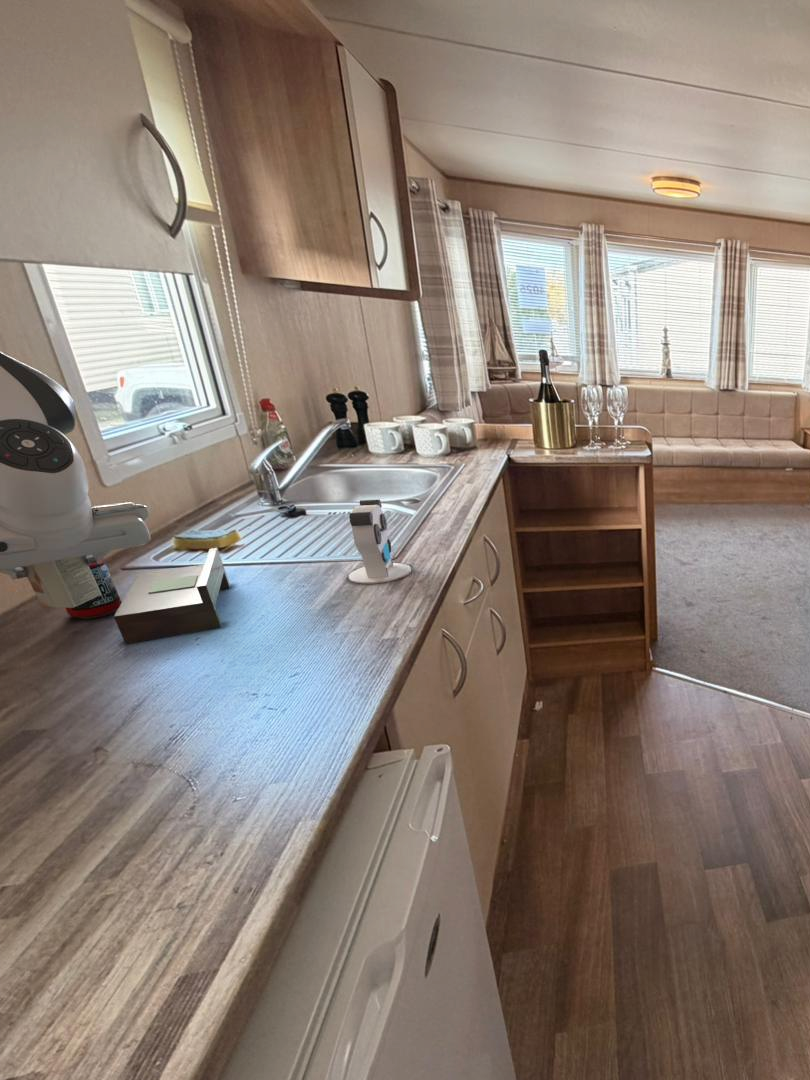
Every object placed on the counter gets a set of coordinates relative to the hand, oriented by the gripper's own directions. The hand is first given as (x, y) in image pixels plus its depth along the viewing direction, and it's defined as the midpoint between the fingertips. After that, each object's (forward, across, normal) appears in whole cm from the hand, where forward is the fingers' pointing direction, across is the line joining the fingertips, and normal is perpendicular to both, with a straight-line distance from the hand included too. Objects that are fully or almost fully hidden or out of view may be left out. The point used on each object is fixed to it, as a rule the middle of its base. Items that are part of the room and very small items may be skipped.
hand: (55, 567), depth 94 cm
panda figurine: (+13, -44, +8) cm, 46 cm away
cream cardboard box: (+4, 0, +4) cm, 6 cm away
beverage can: (+26, -5, -4) cm, 26 cm away
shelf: (+18, -13, +3) cm, 23 cm away
